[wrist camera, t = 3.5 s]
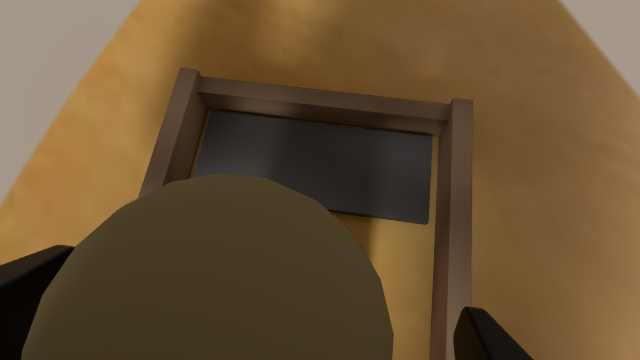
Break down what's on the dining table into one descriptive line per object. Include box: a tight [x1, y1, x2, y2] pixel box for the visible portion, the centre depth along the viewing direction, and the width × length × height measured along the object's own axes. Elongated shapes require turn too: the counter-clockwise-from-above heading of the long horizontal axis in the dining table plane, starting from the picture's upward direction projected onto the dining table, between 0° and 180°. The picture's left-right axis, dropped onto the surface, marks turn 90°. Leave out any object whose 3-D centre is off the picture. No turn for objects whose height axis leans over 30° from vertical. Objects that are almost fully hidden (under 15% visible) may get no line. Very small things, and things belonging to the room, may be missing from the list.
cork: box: [21, 173, 394, 360], centre depth 9 cm, size 6×6×11 cm
